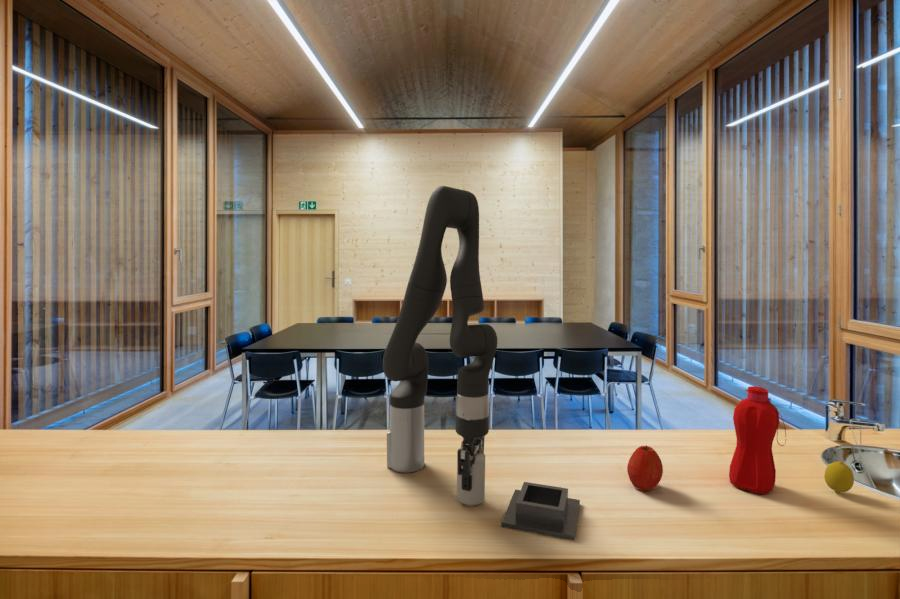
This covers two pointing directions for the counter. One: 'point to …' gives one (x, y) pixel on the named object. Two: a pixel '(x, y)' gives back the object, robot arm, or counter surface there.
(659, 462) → the apple
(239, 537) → the counter surface
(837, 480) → the lemon
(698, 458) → the counter surface
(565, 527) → the grey square socket holder
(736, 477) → the water bottle
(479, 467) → the beverage can
